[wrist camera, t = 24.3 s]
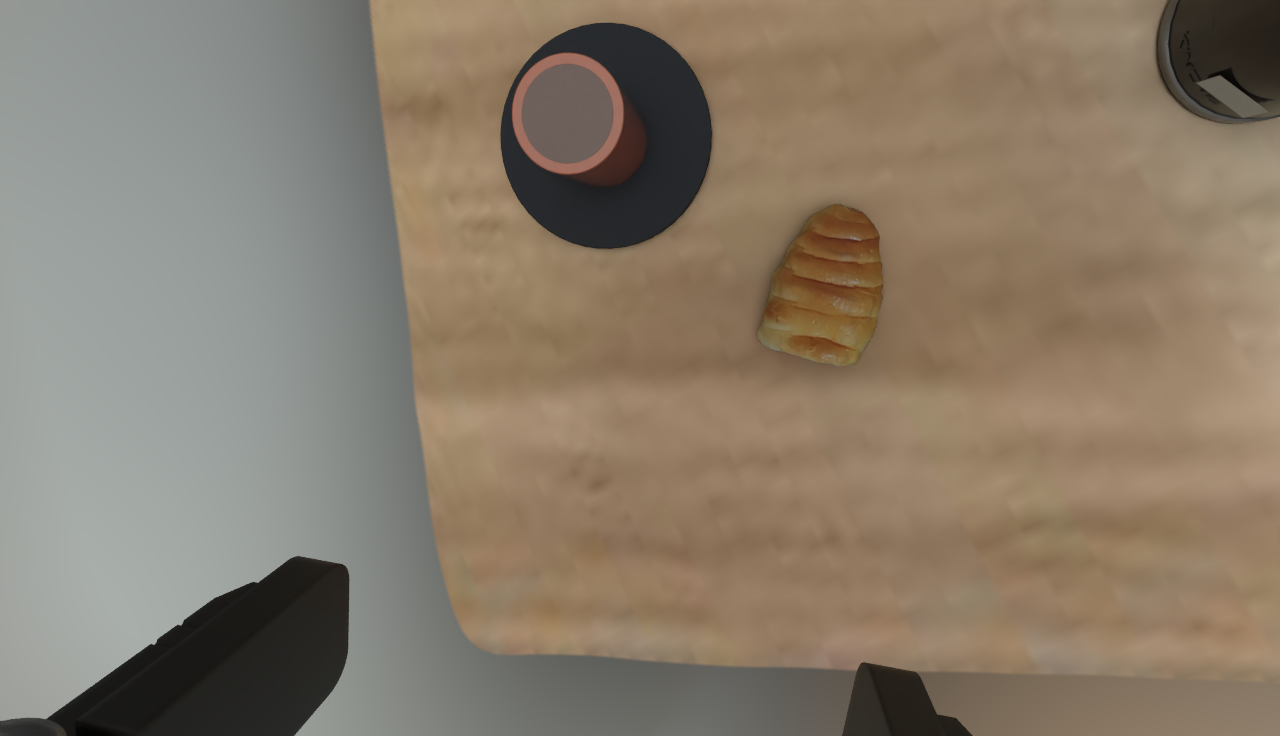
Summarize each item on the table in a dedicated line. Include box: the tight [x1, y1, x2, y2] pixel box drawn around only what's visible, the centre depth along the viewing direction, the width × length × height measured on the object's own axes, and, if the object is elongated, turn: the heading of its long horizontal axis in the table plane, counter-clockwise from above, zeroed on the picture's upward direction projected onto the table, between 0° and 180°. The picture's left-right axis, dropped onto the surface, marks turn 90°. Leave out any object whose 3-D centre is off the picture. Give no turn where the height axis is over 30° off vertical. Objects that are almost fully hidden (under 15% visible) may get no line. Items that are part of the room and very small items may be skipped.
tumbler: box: [512, 52, 647, 188], centre depth 34 cm, size 5×5×9 cm
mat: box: [501, 23, 712, 248], centre depth 39 cm, size 13×13×1 cm
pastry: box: [757, 204, 883, 366], centre depth 37 cm, size 9×7×4 cm
